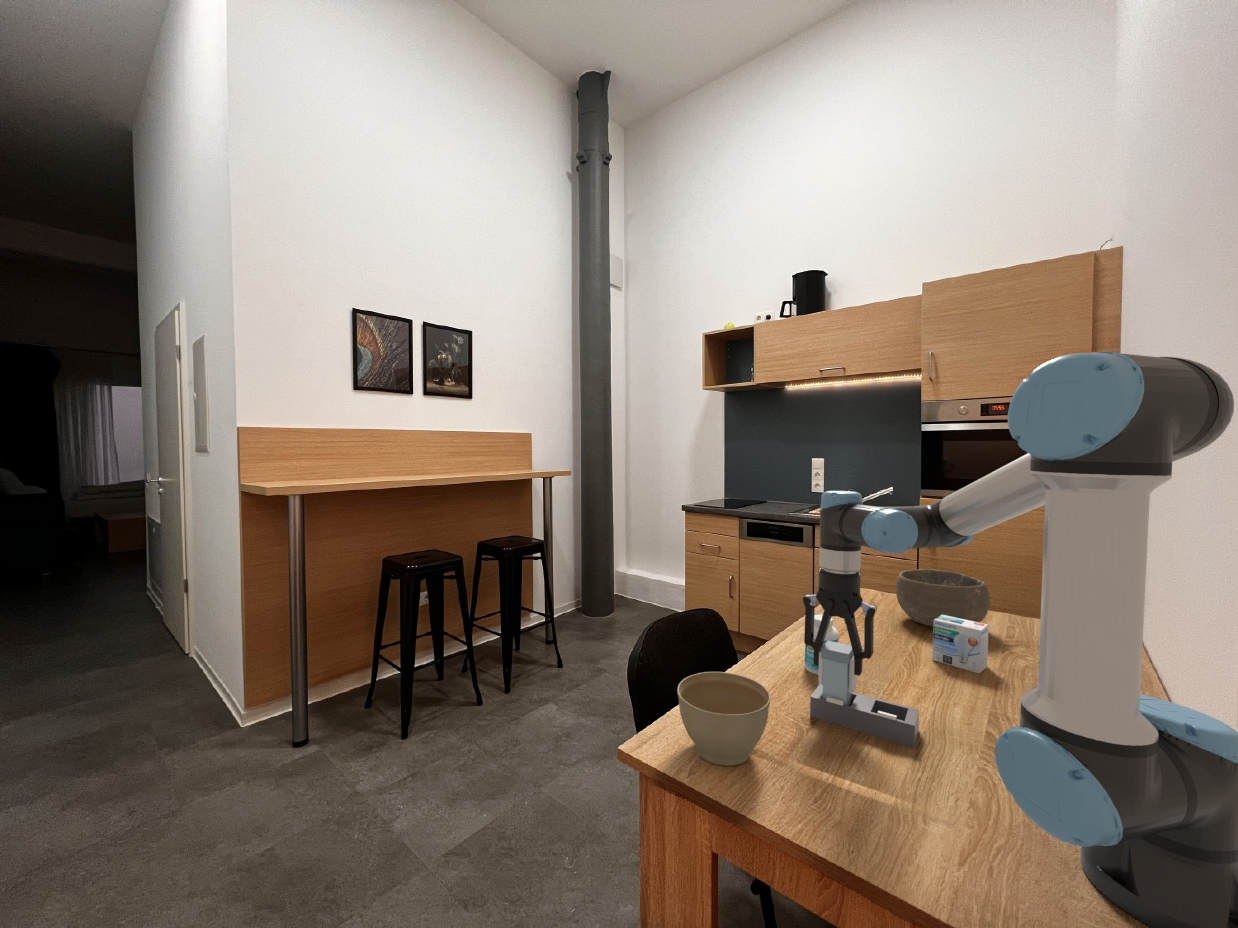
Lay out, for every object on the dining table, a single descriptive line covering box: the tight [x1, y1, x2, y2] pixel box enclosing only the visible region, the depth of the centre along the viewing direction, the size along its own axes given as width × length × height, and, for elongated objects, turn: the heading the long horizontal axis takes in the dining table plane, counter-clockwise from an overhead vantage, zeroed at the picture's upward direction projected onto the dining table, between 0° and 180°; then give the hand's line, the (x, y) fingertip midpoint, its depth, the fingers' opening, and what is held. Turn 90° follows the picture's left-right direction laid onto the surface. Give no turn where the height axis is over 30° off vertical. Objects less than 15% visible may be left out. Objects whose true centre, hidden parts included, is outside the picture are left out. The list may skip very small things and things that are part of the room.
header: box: [809, 684, 920, 749], centre depth 100 cm, size 7×18×6 cm, turn 55°
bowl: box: [895, 568, 991, 628], centre depth 159 cm, size 24×24×15 cm
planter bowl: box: [676, 671, 771, 767], centre depth 92 cm, size 16×16×11 cm
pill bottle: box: [804, 614, 840, 676], centre depth 124 cm, size 8×7×14 cm
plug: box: [821, 641, 854, 706], centre depth 102 cm, size 5×5×13 cm
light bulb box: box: [931, 615, 989, 674], centre depth 130 cm, size 11×7×11 cm, turn 42°
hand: (837, 685), depth 102 cm, fingers closed on plug, 5 cm apart
